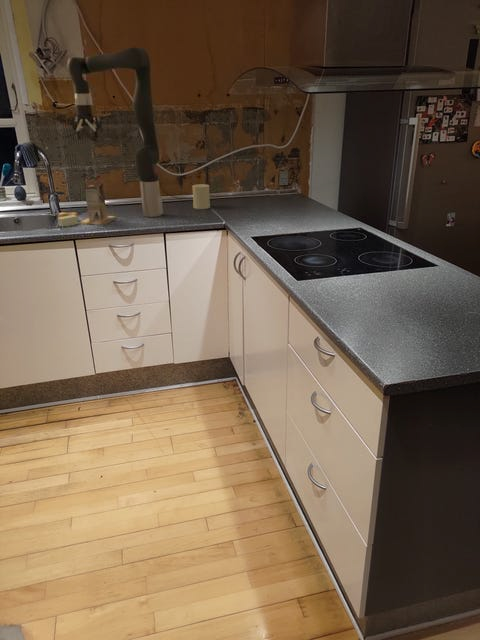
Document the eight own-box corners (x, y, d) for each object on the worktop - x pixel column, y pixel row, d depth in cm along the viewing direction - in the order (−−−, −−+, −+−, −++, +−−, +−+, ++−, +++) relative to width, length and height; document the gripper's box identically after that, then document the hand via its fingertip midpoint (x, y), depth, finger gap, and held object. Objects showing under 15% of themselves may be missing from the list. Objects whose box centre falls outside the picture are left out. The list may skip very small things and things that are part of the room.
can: (189, 207, 264) (188, 185, 259) (201, 204, 270) (200, 182, 265) (201, 209, 259) (200, 186, 253) (213, 206, 265) (212, 184, 260)
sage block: (74, 223, 237) (73, 214, 235) (78, 224, 234) (77, 216, 233) (58, 226, 232) (57, 217, 230) (62, 227, 229) (61, 219, 228)
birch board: (115, 218, 244) (115, 216, 243) (103, 225, 231) (103, 222, 231) (93, 217, 246) (93, 215, 246) (80, 224, 234) (79, 222, 233)
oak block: (78, 220, 241) (76, 212, 240) (74, 222, 238) (73, 214, 236) (62, 220, 242) (61, 212, 240) (59, 222, 239) (57, 214, 237)
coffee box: (94, 216, 243) (90, 184, 236) (107, 216, 242) (103, 183, 236) (88, 221, 234) (83, 187, 228) (102, 221, 234) (97, 187, 227)
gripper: (100, 103, 238) (105, 138, 245) (74, 104, 241) (79, 138, 248) (93, 104, 232) (98, 140, 238) (66, 104, 234) (71, 140, 241)
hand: (88, 139), depth 243 cm, fingers open, 8 cm apart
